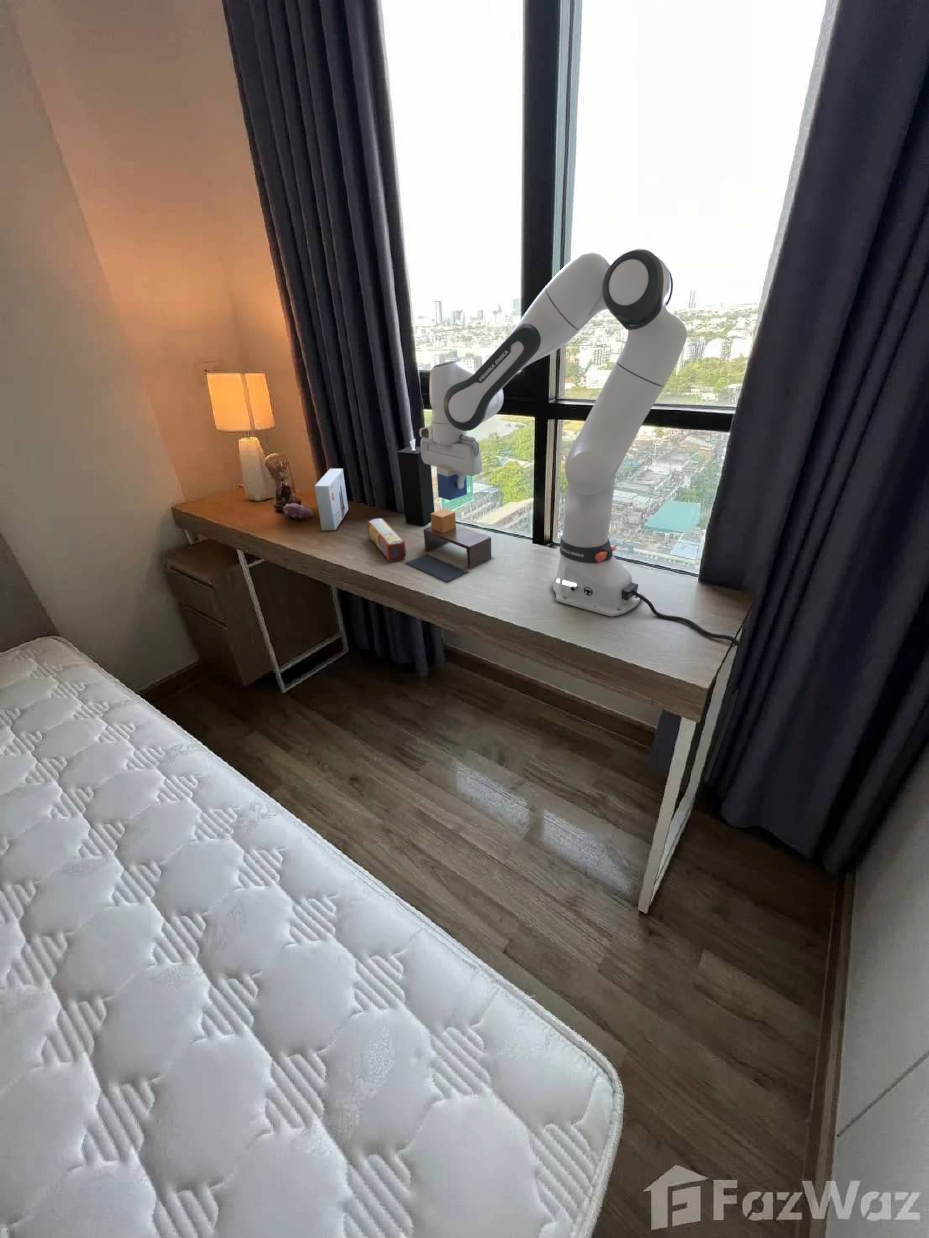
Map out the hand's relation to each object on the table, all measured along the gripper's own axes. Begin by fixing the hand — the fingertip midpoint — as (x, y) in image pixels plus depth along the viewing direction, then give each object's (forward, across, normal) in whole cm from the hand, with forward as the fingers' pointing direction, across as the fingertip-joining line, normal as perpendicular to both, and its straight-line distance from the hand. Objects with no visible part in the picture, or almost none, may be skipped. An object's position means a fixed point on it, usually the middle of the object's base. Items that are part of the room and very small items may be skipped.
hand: (452, 485), depth 134 cm
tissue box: (+24, +34, -15) cm, 44 cm away
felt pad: (+23, +2, +6) cm, 24 cm away
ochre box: (+16, +10, -5) cm, 20 cm away
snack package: (+24, +24, +7) cm, 35 cm away
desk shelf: (+23, +4, -5) cm, 24 cm away
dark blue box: (+3, 0, 0) cm, 3 cm away
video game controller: (+24, +72, +13) cm, 77 cm away
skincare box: (+24, +59, +4) cm, 64 cm away
